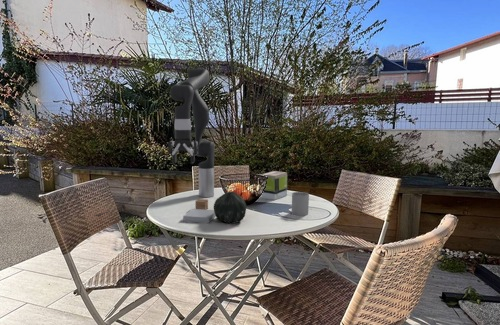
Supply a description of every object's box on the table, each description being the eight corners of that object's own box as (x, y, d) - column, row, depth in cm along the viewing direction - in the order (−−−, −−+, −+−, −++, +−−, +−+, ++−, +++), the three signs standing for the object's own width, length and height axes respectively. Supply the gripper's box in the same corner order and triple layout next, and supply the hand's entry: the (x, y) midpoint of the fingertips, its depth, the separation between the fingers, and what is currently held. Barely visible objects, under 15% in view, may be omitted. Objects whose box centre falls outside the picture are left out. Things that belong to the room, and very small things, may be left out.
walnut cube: (198, 208, 164) (198, 198, 164) (207, 208, 163) (207, 199, 163) (195, 210, 159) (195, 201, 159) (204, 211, 159) (204, 201, 158)
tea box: (273, 193, 200) (274, 170, 198) (287, 195, 194) (288, 172, 192) (260, 197, 188) (260, 173, 186) (274, 200, 182) (275, 175, 180)
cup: (297, 216, 151) (298, 196, 150) (288, 212, 159) (288, 192, 157) (311, 214, 155) (312, 194, 154) (301, 210, 163) (302, 191, 161)
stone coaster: (192, 213, 154) (192, 208, 154) (216, 215, 152) (216, 210, 152) (183, 221, 142) (183, 216, 142) (208, 223, 140) (208, 217, 140)
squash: (229, 202, 155) (217, 183, 145) (255, 207, 148) (245, 188, 138) (215, 226, 148) (202, 208, 138) (242, 233, 140) (231, 215, 130)
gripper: (200, 128, 149) (200, 162, 151) (171, 128, 151) (172, 161, 154) (194, 129, 141) (195, 164, 144) (165, 128, 144) (166, 163, 146)
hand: (183, 163), depth 149 cm, fingers open, 8 cm apart
